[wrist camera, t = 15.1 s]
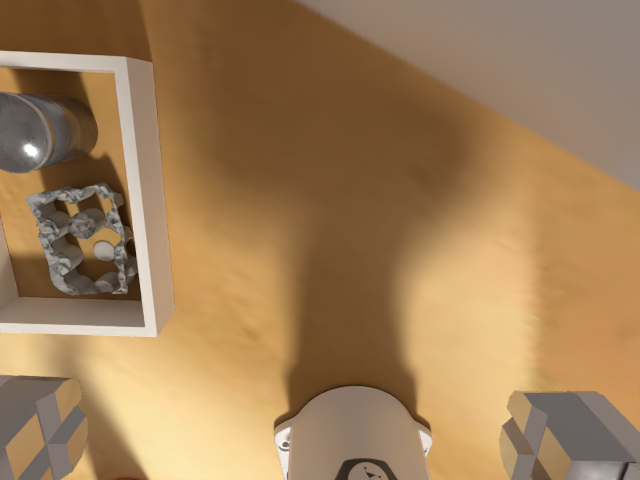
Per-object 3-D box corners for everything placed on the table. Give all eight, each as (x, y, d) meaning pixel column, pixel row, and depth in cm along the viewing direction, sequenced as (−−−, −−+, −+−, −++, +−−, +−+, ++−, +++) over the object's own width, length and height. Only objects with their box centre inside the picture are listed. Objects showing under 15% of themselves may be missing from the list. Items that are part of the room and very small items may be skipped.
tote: (175, 310, 42) (157, 337, 37) (11, 304, 41) (-28, 331, 37) (152, 62, 34) (126, 56, 29) (-51, 53, 33) (-111, 45, 29)
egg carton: (148, 281, 41) (131, 300, 37) (76, 284, 41) (51, 304, 37) (126, 179, 37) (104, 188, 34) (47, 183, 37) (16, 193, 34)
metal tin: (102, 162, 37) (55, 176, 30) (38, 157, 36) (-24, 170, 30) (95, 95, 35) (43, 95, 28) (27, 90, 35) (-41, 88, 28)
